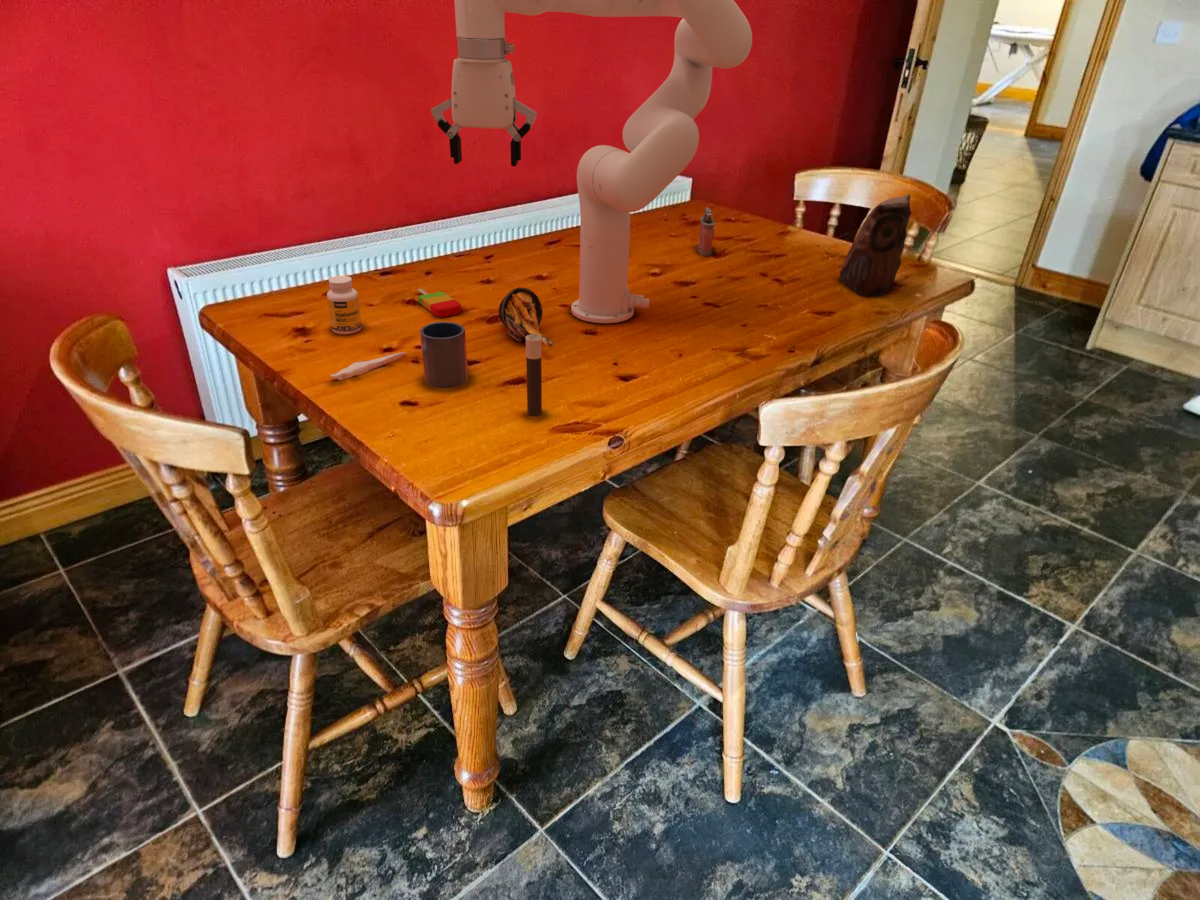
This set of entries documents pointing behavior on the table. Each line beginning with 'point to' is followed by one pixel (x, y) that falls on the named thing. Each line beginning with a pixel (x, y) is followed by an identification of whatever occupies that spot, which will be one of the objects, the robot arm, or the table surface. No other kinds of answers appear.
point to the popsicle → (439, 303)
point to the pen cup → (444, 354)
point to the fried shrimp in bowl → (522, 314)
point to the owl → (877, 249)
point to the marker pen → (534, 374)
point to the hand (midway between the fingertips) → (486, 163)
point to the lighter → (706, 233)
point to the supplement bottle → (343, 306)
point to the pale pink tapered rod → (365, 366)
